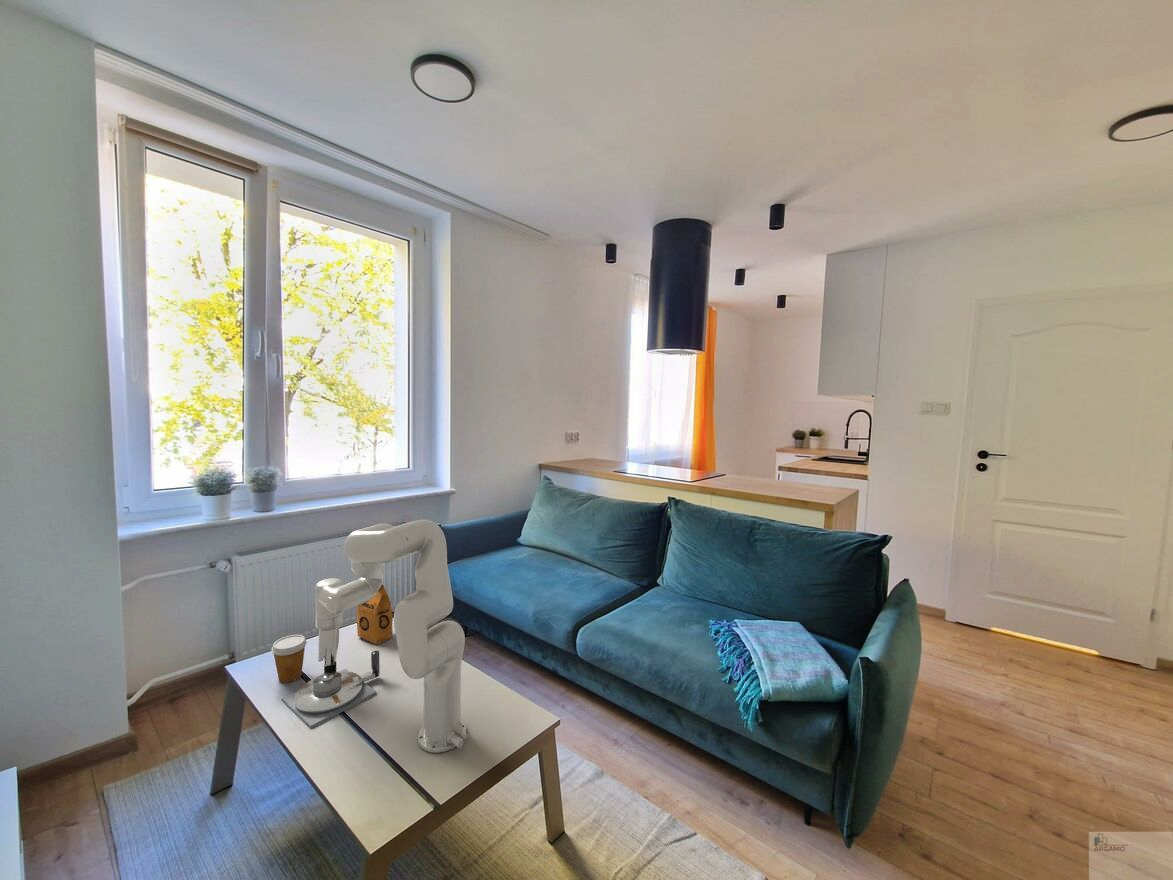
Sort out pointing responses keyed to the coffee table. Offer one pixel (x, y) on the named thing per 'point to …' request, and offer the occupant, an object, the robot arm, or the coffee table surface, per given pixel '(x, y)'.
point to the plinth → (318, 718)
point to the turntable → (347, 693)
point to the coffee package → (375, 618)
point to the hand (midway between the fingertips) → (330, 675)
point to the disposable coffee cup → (289, 657)
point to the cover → (327, 684)
